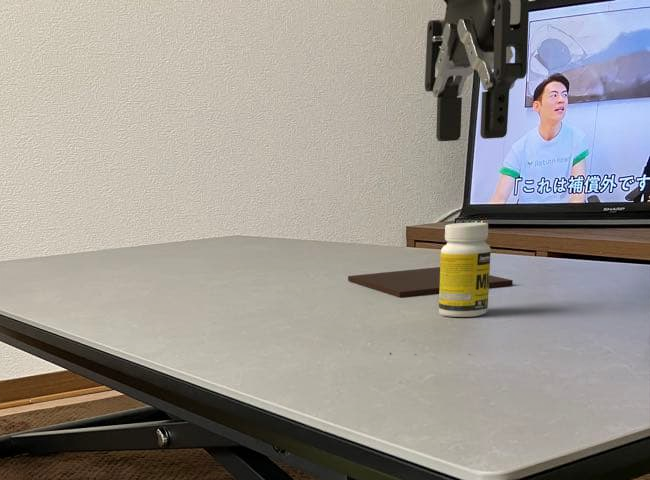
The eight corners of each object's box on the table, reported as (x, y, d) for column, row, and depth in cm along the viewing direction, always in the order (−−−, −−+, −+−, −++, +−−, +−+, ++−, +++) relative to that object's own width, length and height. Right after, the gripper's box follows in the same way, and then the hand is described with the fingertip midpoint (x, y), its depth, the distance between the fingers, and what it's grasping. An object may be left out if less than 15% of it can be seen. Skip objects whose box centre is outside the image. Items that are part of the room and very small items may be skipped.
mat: (448, 270, 118) (448, 266, 118) (512, 285, 104) (512, 280, 103) (347, 280, 115) (347, 276, 115) (399, 297, 100) (399, 291, 100)
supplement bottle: (481, 318, 86) (486, 225, 83) (433, 317, 88) (435, 227, 85) (492, 309, 90) (496, 221, 87) (445, 309, 92) (447, 222, 89)
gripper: (565, -91, 71) (549, 135, 77) (476, -52, 83) (469, 139, 90) (478, -91, 69) (470, 140, 76) (401, -51, 82) (399, 143, 88)
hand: (469, 139), depth 83 cm, fingers open, 8 cm apart
